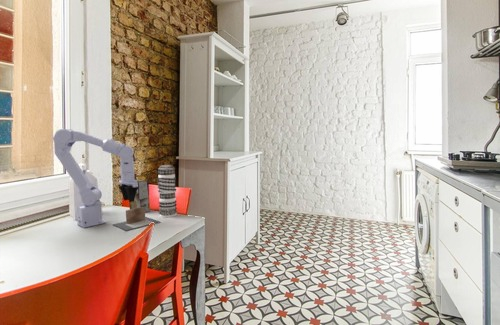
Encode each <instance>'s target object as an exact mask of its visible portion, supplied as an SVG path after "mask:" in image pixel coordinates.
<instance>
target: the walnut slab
mask: <svg viewBox="0 0 500 325" xmlns="http://www.w3.org/2000/svg"><path fill="white" fill-rule="evenodd" d="M145 217H146V212H145V207H140V208H135V209H130V208H129V209H125V218H126V219H125V220H126V222H127V224H132V223H136V222H140V221H144V220H145Z"/></svg>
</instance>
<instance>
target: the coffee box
mask: <svg viewBox="0 0 500 325" xmlns="http://www.w3.org/2000/svg"><path fill="white" fill-rule="evenodd" d="M136 180H137V183H138V189H137V192H136V195H135V199H134V201H133V202H129V201H128V202H129V210H130V209H135V208H140V207H145V213H146V212H150V211H151V207H150V204H151V203H150V186H149V182H150V181H149V180H143V179H136Z"/></svg>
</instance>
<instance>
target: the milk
mask: <svg viewBox="0 0 500 325" xmlns="http://www.w3.org/2000/svg"><path fill="white" fill-rule="evenodd" d="M78 165H79V167H80V168H81V170H82V171H83V173H84V174H85V176H86V177H87V179H88V180H89V182H90V183H92V184H93V185H94V186H95V187H96V188H97V189H99V185H98V179H97V178H96V176H95V175H93V172H92V171H90V170H88V169H87V168H86V165H85V164H84V163H78ZM68 204H69V205H68V208H69V210H68V211H69V214H70V215H69V217H71V218H72V219H73V220H74V221H78V218H77V208H78V207H80V206H83V204H84V203H83V202H82V200H81V195H80V194H79V188H78V187H77V185H76V184H75V182H74V181H73V179H72V178H71V176H69V180H68Z"/></svg>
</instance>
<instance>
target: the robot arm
mask: <svg viewBox="0 0 500 325" xmlns="http://www.w3.org/2000/svg"><path fill="white" fill-rule="evenodd" d="M52 139H53V143H54V145H53V146H54V148H53V149H54V155H55V156H56V157H57V159H58V160H59V163H60V164H61V165H62V166H63V167H64V169H65V171H66V172H67V174H68V175H69V177H71V178H72V179H73V181H74V182H75V184H76V185H77V187H78V188H79V194H80V195H81V200H82V202H83V203H84V204H83V206H80V207H78V208H77V218H78V219H77V225H78V226H79V227H82V228H88V227H93V226H97V225H101V224H106V220H103V212H102V211H103V209H102V202H101V198H102V192H101V190H100V189H99V188H98V189H97V188H96V187H95V186H94V185H93V184H92V183H90V182H89V180H88V179H87V177H86V176H85V174H84V173H83V171H82V170H81V168H80V167H79V163H78V162H77V160H75V158H74V156H73V155H72V154H71V150H72V148H73V145H74V144H75V143H77V142H84V143H88V144H91V145H93V146H96V147H97V146H98V147H101V149H102V151H104V152H106V153H109V154H111V155H114V156H117V157H118V156H119V157H120V163H119V164H120V179H119V180H118V184H119V185H118V189H119V190H120V193H121V194H122V198H123V201H124V202H125V201H128V202H133V201H134V199H135V195H136V192H137V189H138V183H137V180H138V179H135V162H134V154H135V150H134V149H133V147H131V146H130V145H125V143H121V142H118V141H115V139H112V138H111V139H107V138H106V139H100V138H99V137H97V136H93V135H90V134H89V133H86V132H82V131H78V130H74V129H66V128H60V129H57V130H56V132H55V133H54V135H53V137H52Z"/></svg>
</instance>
